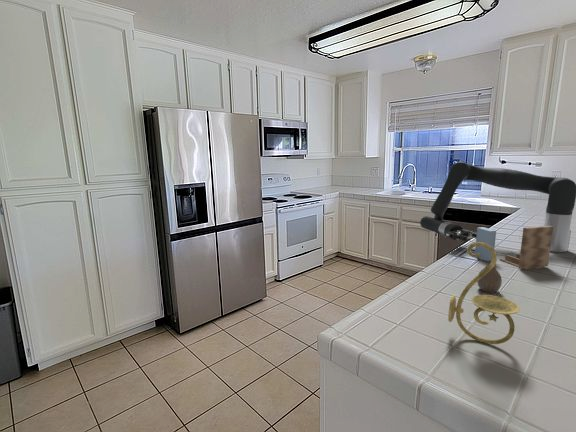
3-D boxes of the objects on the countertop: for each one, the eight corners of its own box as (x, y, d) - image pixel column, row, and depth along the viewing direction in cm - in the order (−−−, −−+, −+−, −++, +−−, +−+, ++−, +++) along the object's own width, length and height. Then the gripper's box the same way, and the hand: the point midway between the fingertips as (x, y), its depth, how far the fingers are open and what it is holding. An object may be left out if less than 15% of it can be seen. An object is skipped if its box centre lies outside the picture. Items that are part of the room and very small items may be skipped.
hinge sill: (520, 258, 138) (525, 220, 135) (547, 267, 127) (553, 226, 124) (496, 260, 136) (500, 222, 133) (521, 270, 125) (526, 228, 122)
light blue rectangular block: (480, 255, 143) (483, 227, 141) (493, 260, 136) (496, 230, 134) (474, 256, 143) (477, 227, 140) (486, 261, 136) (490, 231, 133)
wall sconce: (445, 341, 79) (453, 244, 74) (451, 324, 86) (459, 235, 82) (514, 361, 71) (528, 253, 66) (514, 341, 78) (526, 242, 74)
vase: (497, 287, 109) (499, 263, 108) (503, 296, 103) (506, 270, 101) (474, 285, 112) (476, 261, 110) (478, 293, 105) (481, 268, 103)
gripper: (438, 224, 158) (461, 231, 142) (463, 222, 160) (489, 229, 145) (437, 238, 159) (459, 247, 144) (462, 236, 162) (487, 245, 146)
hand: (474, 238), depth 144 cm, fingers open, 8 cm apart
